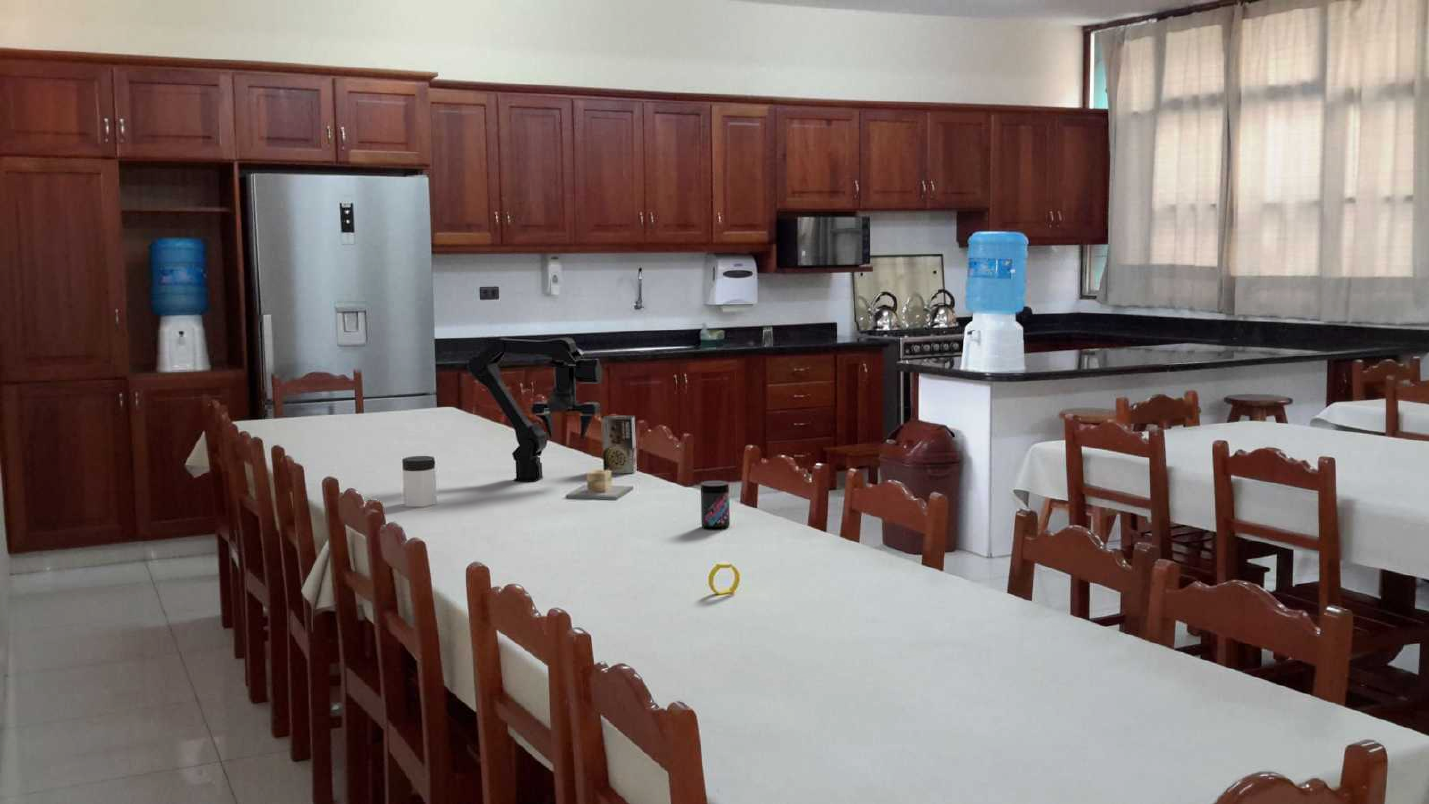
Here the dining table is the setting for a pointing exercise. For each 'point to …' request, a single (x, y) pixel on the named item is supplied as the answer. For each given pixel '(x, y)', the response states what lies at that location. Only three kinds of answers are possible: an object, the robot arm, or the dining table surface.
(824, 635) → the dining table surface
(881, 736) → the dining table surface
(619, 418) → the coffee box
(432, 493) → the jar
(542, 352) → the robot arm
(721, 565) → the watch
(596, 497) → the mat
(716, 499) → the supplement container
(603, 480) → the maple cube
